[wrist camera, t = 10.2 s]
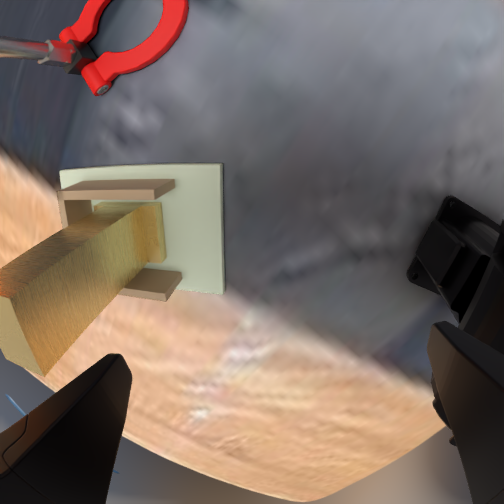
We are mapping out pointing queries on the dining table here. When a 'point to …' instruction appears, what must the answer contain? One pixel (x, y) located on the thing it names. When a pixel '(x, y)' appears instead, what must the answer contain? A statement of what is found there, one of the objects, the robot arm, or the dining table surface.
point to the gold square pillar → (74, 279)
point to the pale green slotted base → (174, 219)
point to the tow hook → (108, 64)
